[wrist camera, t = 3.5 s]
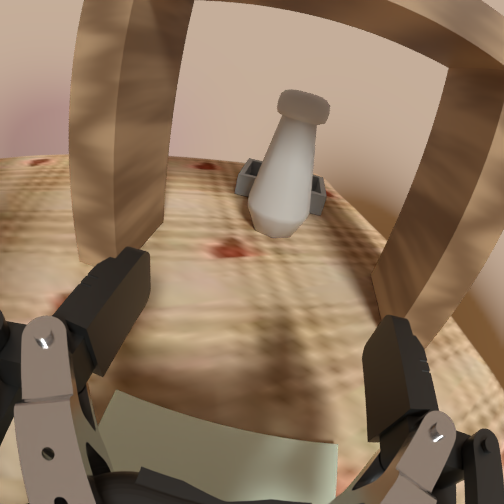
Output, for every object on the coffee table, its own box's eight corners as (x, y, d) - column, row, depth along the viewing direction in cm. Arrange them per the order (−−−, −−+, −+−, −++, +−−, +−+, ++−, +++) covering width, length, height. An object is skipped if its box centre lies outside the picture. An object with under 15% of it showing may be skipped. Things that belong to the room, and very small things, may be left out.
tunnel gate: (79, 261, 19) (102, -60, 7) (129, 213, 26) (160, -30, 14) (424, 349, 18) (554, 61, 6) (402, 283, 25) (489, 57, 13)
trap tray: (234, 193, 33) (238, 173, 32) (245, 174, 39) (249, 158, 38) (320, 215, 33) (326, 197, 32) (318, 193, 39) (323, 177, 38)
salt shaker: (276, 209, 32) (307, 91, 25) (313, 237, 29) (354, 107, 21) (231, 216, 29) (258, 81, 22) (267, 249, 25) (308, 94, 18)
